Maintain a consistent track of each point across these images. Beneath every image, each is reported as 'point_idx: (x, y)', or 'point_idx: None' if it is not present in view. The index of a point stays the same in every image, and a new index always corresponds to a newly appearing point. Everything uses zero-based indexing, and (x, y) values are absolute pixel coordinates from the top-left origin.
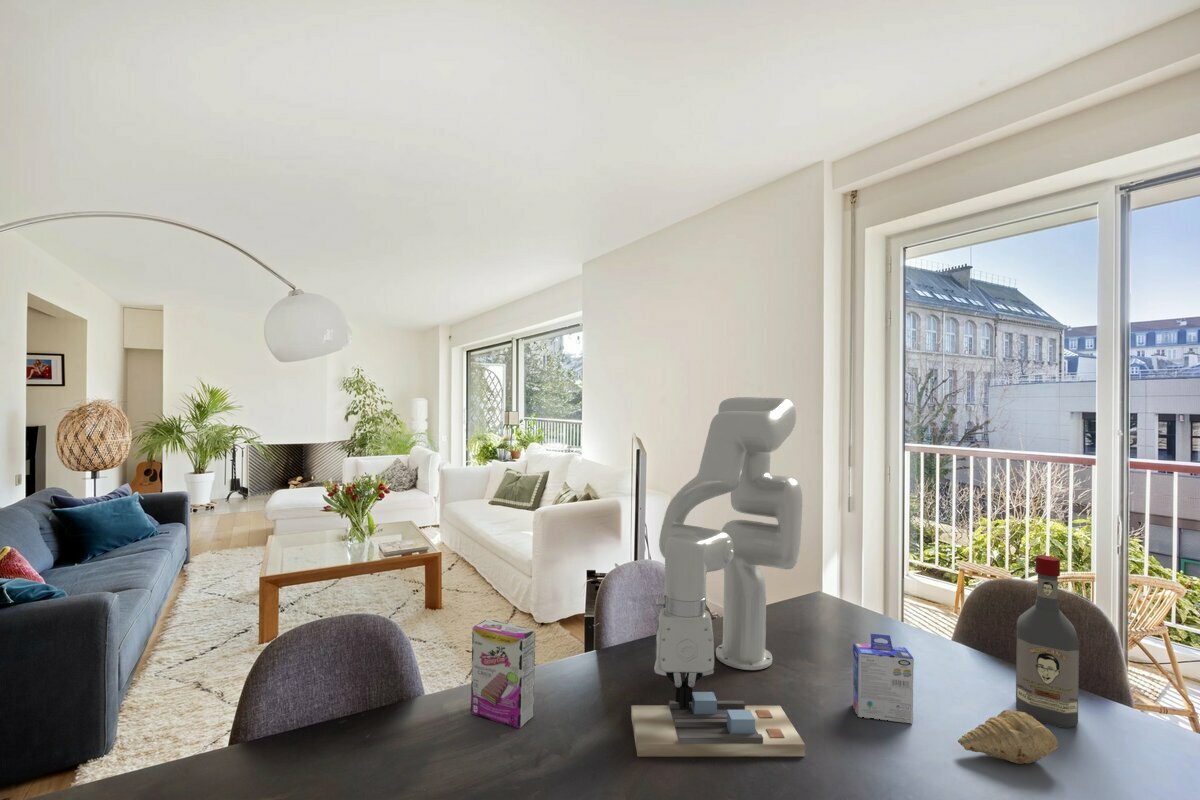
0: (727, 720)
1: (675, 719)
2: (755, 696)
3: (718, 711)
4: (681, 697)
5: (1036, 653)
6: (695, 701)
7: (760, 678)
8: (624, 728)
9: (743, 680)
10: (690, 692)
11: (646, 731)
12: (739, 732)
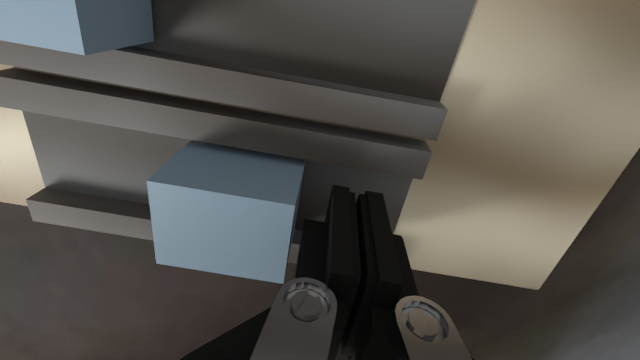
0: (126, 29)
1: (433, 132)
2: (31, 278)
3: None
4: (385, 233)
5: None
6: (291, 202)
7: (12, 347)
8: None
9: (66, 348)
10: (311, 257)
11: (613, 92)
12: None
